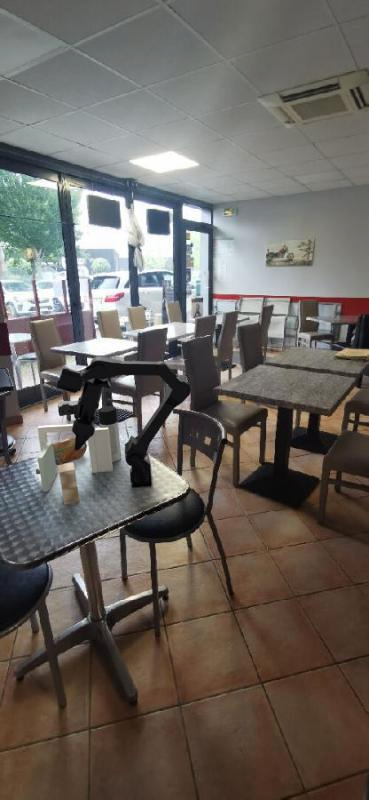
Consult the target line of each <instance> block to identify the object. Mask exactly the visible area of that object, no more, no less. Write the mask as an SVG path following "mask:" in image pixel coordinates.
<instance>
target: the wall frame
mask: <svg viewBox="0 0 369 800" xmlns="http://www.w3.org/2000/svg"><path fill="white" fill-rule="evenodd" d="M72 426H73V423H67V424H54V425H53V424H52V425H51V424H50V425H39V426H38V427H37V433H38V434H37V435H38V442H39V447H40V453H41V452H42V450H43V448H44V447H45V445H46V444H47V442H49V440H48V435H47V434H49V433H51V434H52V433H63V432H66V433H67V432H72ZM87 444H88V445H87V446H88V451H89V461H90V467H91V474H98V473H103V472H104V473H105V472H113V470H114V468H113V467H114V465H113V462H112V457H111V448H110V439H109V430H108V428H100V427H95V431H94V435H93V436H92V437H90V438H89V439H88V440H87Z"/></svg>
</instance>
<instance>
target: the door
mask: <svg viewBox="0 0 369 800" xmlns="http://www.w3.org/2000/svg"><path fill="white" fill-rule="evenodd" d="M53 444H54V443H53V441H48V442H47V444H46V445H45V447H44V448H43V450H42V452H41V451H40V453H39V455H38V456H37V463H38V468H37V469H35V474H36V475H40V481H41V486H42V491H43V492H49V490H50V488H51V487H52V484H53V482H54V480H55V478H56V477H57V474H58V471H57V465H56V463H55V457H54V451H53Z"/></svg>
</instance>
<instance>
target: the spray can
mask: <svg viewBox="0 0 369 800" xmlns="http://www.w3.org/2000/svg"><path fill="white" fill-rule="evenodd" d="M97 415H98V423H99V428H108V430H109V439H110V448H111V457H112V463H115V462H117V461H120V460H121V459H122V452H121V451H122V450H121V440H120V430H119V422H118V421H119V420H118V412H117V407H115V406H113V405H107V406H102V407H101V408H98V409H97Z"/></svg>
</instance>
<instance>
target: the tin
mask: <svg viewBox="0 0 369 800" xmlns="http://www.w3.org/2000/svg"><path fill="white" fill-rule="evenodd" d="M75 438H76V436H72V437H69V438H66V439H63V440H62V439H61V440H59V441H57V442H55V443H52V444H53V451H54V457H55V463H56V467H58V465H62V464H67V463H72V462H73V461H75V460H78V459H81V458H82V457H83V456H84V455H85V454H86V452H87V447H88V445H87V444H88V443H87V441H86V442H85V444H84V445H83V446H82V447H81V448H80V449H79V450H78V451H77V450H75Z"/></svg>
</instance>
